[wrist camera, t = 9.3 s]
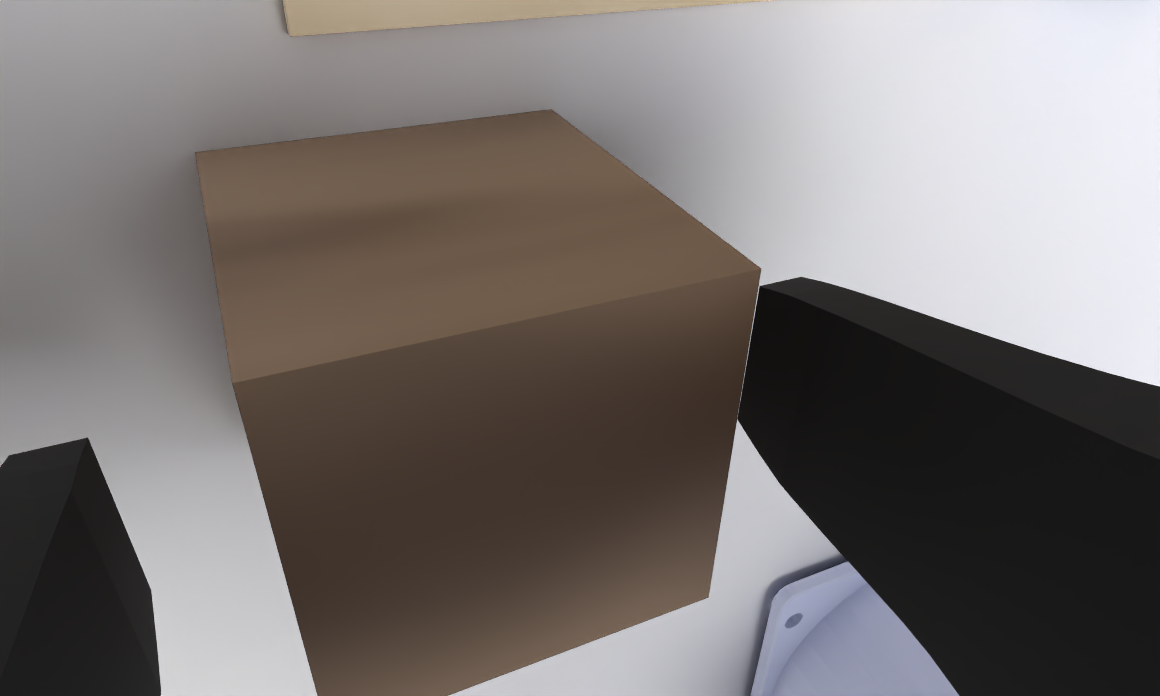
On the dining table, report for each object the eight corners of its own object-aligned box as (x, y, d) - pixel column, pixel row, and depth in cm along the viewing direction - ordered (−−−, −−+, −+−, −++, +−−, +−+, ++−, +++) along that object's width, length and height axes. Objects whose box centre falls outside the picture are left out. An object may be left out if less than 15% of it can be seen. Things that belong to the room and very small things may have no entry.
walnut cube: (550, 374, 14) (708, 597, 10) (269, 444, 12) (330, 740, 8) (549, 108, 11) (761, 269, 7) (194, 150, 10) (233, 383, 6)
